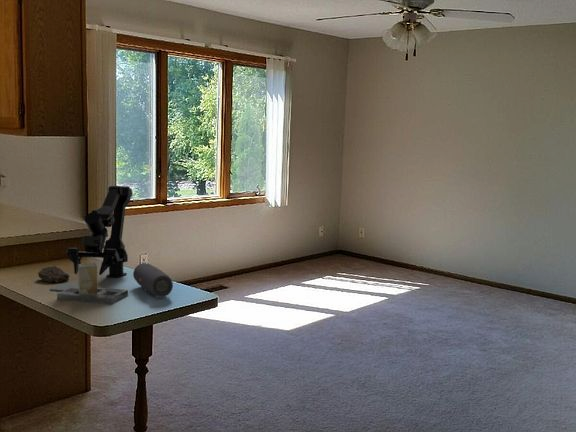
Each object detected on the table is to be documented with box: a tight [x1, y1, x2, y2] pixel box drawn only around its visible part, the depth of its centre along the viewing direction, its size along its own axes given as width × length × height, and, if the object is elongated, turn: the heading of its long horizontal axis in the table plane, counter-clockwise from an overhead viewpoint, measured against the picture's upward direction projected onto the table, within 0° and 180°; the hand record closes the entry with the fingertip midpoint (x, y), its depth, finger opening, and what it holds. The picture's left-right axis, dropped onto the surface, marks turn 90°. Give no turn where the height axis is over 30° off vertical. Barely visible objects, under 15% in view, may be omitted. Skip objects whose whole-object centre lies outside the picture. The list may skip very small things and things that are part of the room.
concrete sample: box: [37, 265, 70, 284], centre depth 250 cm, size 12×10×5 cm
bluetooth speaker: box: [132, 262, 174, 298], centre depth 234 cm, size 23×9×10 cm, turn 30°
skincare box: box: [77, 262, 98, 295], centre depth 227 cm, size 6×4×12 cm
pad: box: [49, 282, 78, 292], centre depth 238 cm, size 9×9×1 cm
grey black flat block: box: [56, 286, 129, 305], centre depth 227 cm, size 12×22×2 cm, turn 77°
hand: (87, 274), depth 226 cm, fingers open, 9 cm apart
